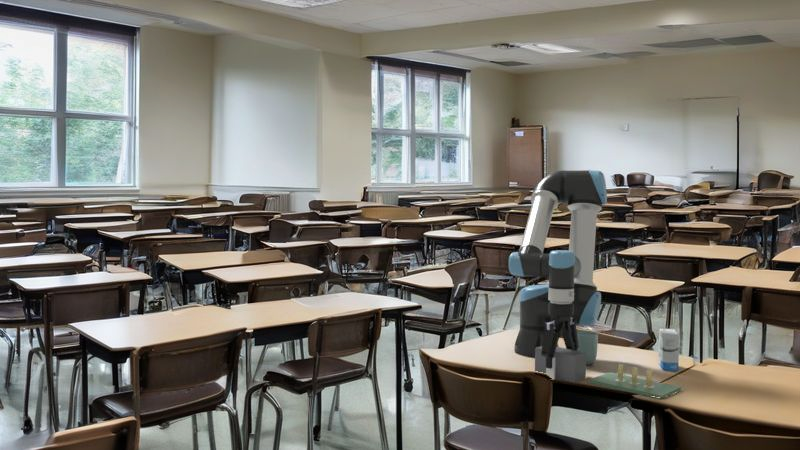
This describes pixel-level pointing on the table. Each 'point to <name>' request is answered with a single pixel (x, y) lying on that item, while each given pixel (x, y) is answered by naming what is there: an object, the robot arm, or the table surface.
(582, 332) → the cup
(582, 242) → the robot arm
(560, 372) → the block
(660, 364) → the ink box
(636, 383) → the header
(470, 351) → the table surface
